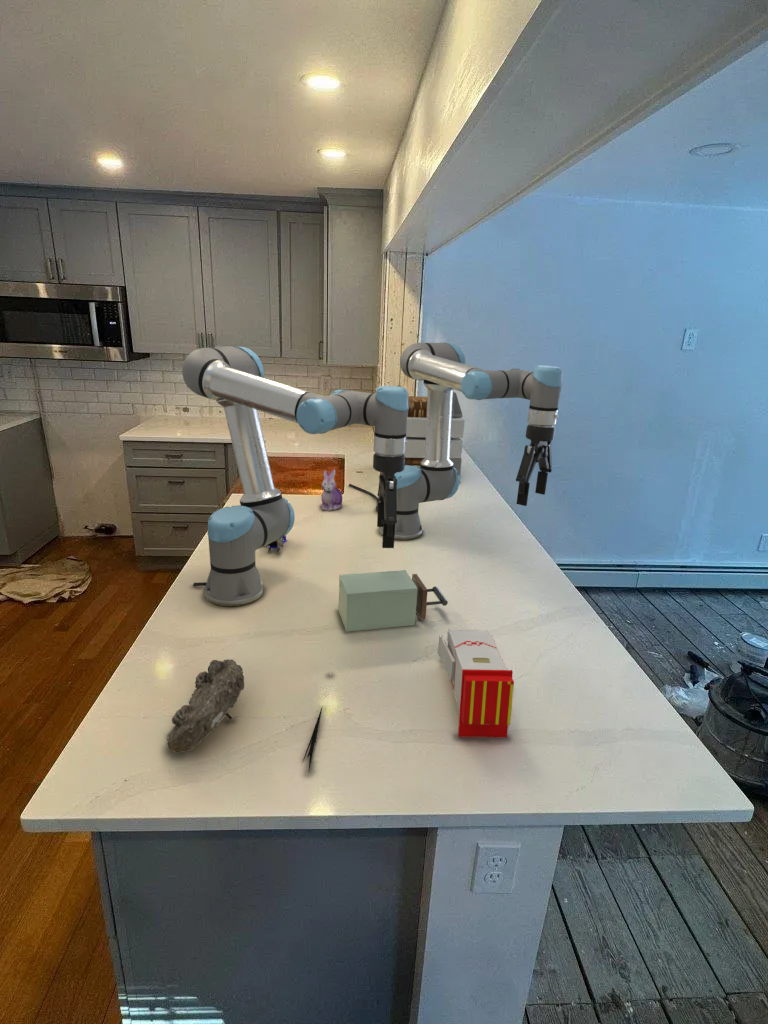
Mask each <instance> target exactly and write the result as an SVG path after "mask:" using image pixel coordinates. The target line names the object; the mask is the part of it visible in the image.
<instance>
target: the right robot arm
mask: <svg viewBox="0 0 768 1024" xmlns="http://www.w3.org/2000/svg"><path fill="white" fill-rule="evenodd" d="M465 354H466V353H465V352H464V351H463V349H462V348H461V346H460V345H458V344H456V343H451V342H445V341H444V342H415V343H412V344H410V345H408V346H407V347H405V348H404V350H403V351H402V353H401V355H400V358H399V366H400V369H401V372H402V373H403V374H404V375H405V376H406V377H407V378H409V379H412V380H415V381H419V382H421V381H423V382H422V383H423V386H425V388H426V389H427V395H426V397H427V419H426V444H425V458H424V459H423V460H422V461H421V463H420V466H412V465H409V466H407V465H405V467H404V470H403V471H402V472H397V473H395V474H394V476H396V479H397V523H396V524H395V536H394V541H410V540H415V539H418V538H420V537H421V536H422V535H423V525H422V524H421V518H420V515H419V507H420V506H419V505H420V504H421V503H422V504H423V503H428V502H429V503H430V502H434V501H444V500H446V499H450V498H452V497H453V496H454V495H455V494H456V493H457V492H458V489H459V487H460V482H459V475H457V474H458V472H457V470H456V469H455V468H454V467H453V463H452V461H451V460H450V459H449V454H450V435H451V417H452V398H453V391H454V390H455V391H458V392H460V393H462V394H463V395H464V397H465V398H466V399H468V400H474V401H475V400H476V401H482V400H494V399H515V398H516V399H523V400H528V401H529V406H528V414H527V421H526V422H527V423H528V424H527V425H526V430H525V438H526V439H527V440H530V442H529V443H530V444H529V445H527V444H526V445H525V446H524V451H523V455H522V458H521V462H520V465H519V468H518V472H517V475H516V478H515V482H518V489H517V498H516V505H520V506H523V507H527V506H528V498H529V492H530V485H531V484H530V482H529V481H530V480H531V477H532V474H533V471H534V469H535V467H536V464H537V463H538V464H537V465H538V469H539V470H538V471H537V476H536V484H535V490H534V493H535V494H539V495H543V496H544V495H546V490H547V483H548V476H549V473H552V471H553V468H552V467H553V463H552V462H553V461H552V460H553V459H552V443H553V442H552V441H553V440H554V439H555V433H556V426H555V425H556V424H557V419H558V418H559V417H560V416H559V414H558V411H559V404H560V398H561V392H562V387H563V377H564V376H563V375H564V371H563V368H561V367H559V366H552V365H536V366H535V367H534V369H533V371H530V370H524V369H520V368H507V369H505V370H487V369H483V368H479V367H476V366H472V365H469V364H467V358H466V355H465ZM348 486H349V487H351V488H353V489H356V490H359V491H361V492H363V493H365V494H368V495H369V496H371V497H372V498H373V499H375V501H376V506H375V511H376V513H378V502H380V501H378V496H377V495H375V494H374V493H373V492H371V491H368V490H366V489H364V488H362V487H359V486H357V485H354V484H352V483H349V484H348ZM389 518H393V517H389ZM378 533H379V534H380V535H381V536H383V527H378Z"/></svg>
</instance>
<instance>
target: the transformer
mask: <svg viewBox="0 0 768 1024" xmlns="http://www.w3.org/2000/svg"><path fill="white" fill-rule="evenodd" d="M397 386H398V387H402V385H399V384H398V385H397ZM408 406H409V409H408V417H407V430H406V440H408V444H405V446H406V447H405V453H404V456H405V465H406V466H409V465H412V466H417V467H420V463H421V461H422V460H423V459H424V458H425V444H426V419H427V396H415V395H414V396H413V395H412V396H411V395H408ZM464 429H465V419H464V418H463V411H462V408H461V405H460V402H459V398H458V395H457V392H455V391H454V390H453V398H452V417H451V435H450V454H449V459H450V460H451V461H452V463H453V467H454V468H455V469H456V470H457V472H458V474H457V475H459V483H461V472H462V461H463V460H462V453H463V442H464V441H463V440H462V439H463V438H464V431H465V430H464Z"/></svg>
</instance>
